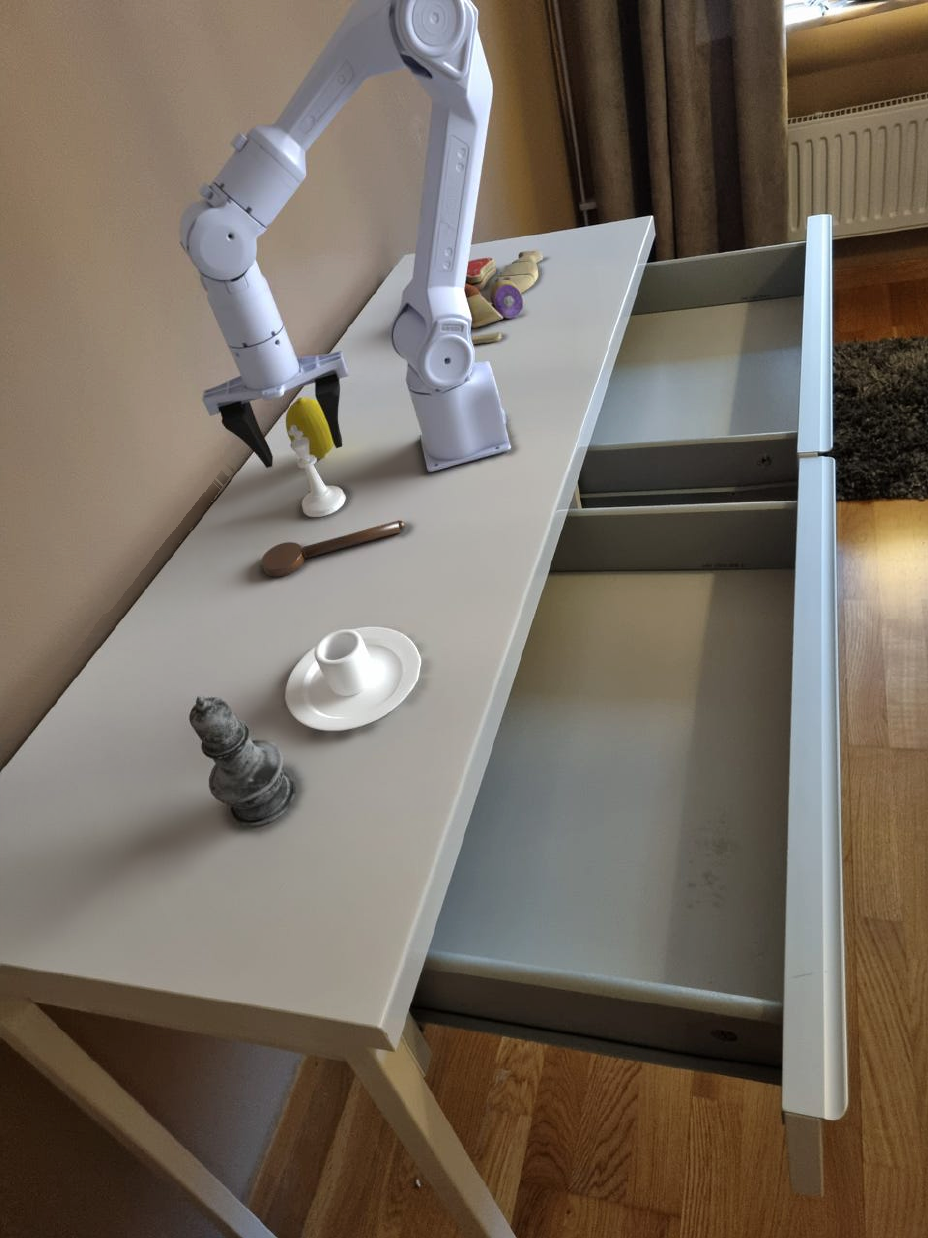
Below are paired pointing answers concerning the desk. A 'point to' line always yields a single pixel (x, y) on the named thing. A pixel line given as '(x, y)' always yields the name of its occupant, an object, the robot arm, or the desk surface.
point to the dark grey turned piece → (241, 765)
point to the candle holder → (352, 678)
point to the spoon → (320, 548)
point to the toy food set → (498, 290)
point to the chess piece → (315, 481)
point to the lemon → (310, 425)
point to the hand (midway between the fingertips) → (304, 452)
